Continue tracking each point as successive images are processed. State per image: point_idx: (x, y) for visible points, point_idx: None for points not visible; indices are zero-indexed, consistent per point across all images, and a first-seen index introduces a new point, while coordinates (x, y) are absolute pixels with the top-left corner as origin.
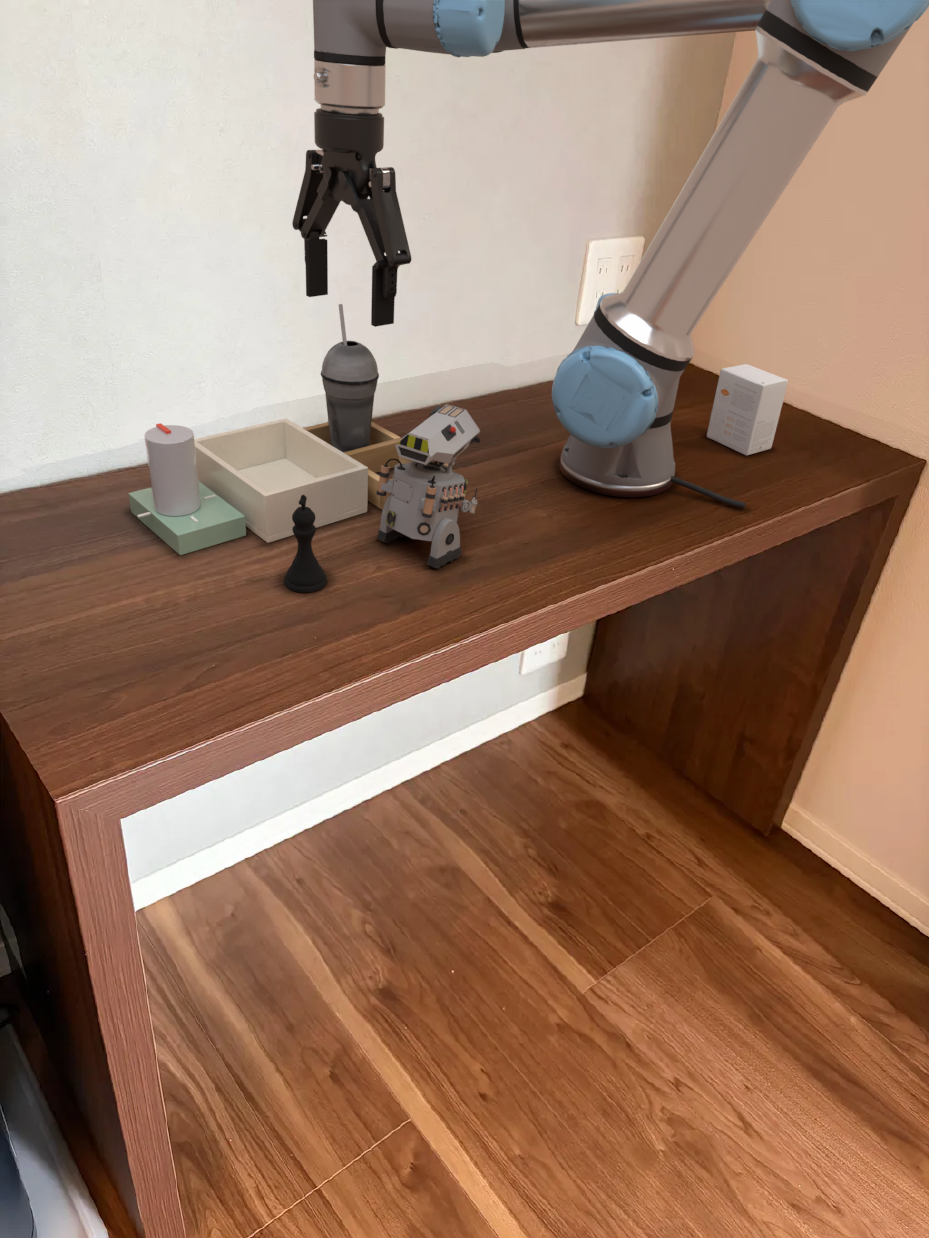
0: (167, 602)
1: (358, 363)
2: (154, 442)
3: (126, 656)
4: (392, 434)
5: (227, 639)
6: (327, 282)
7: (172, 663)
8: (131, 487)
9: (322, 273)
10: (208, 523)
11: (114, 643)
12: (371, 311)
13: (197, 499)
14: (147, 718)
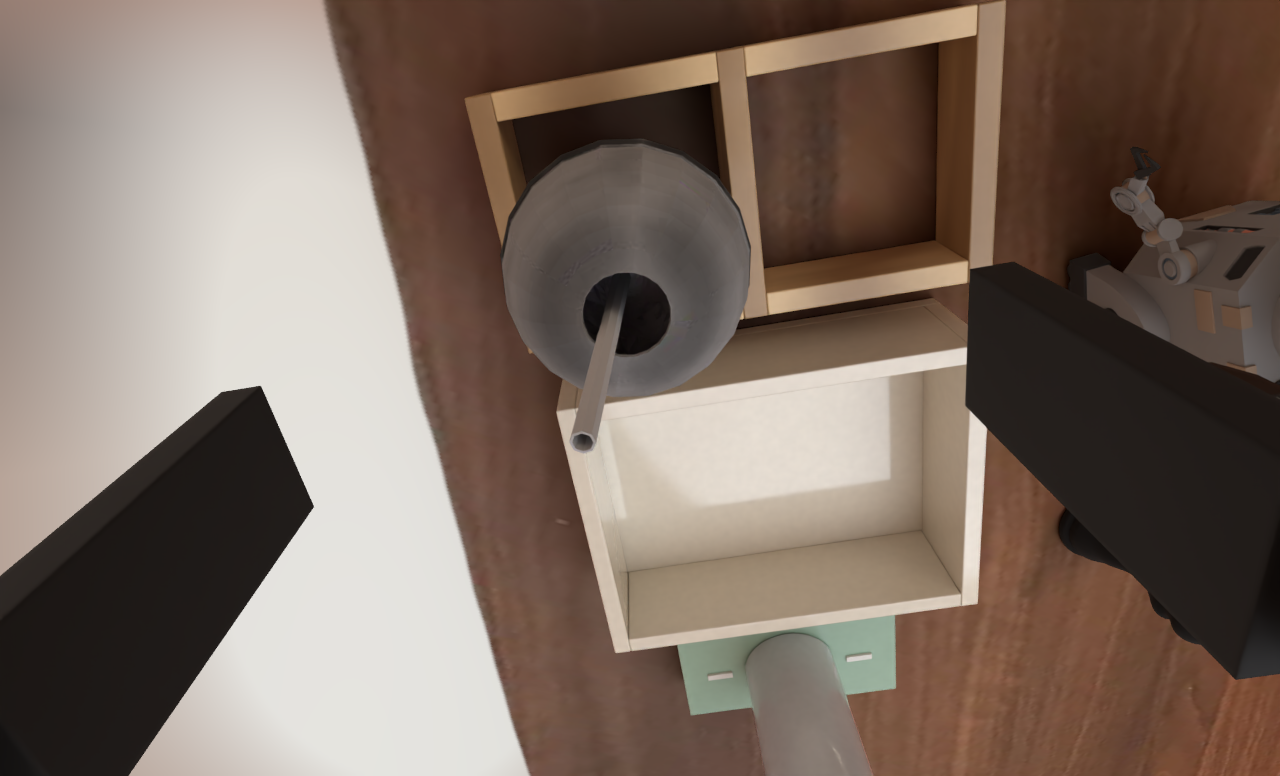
0: (1002, 697)
1: (736, 303)
2: None
3: (1088, 758)
4: (680, 68)
5: (1150, 660)
6: (216, 424)
7: (1145, 723)
8: (581, 661)
9: (199, 502)
10: (884, 640)
11: (1050, 763)
12: (1005, 445)
13: (828, 658)
14: (1221, 763)
